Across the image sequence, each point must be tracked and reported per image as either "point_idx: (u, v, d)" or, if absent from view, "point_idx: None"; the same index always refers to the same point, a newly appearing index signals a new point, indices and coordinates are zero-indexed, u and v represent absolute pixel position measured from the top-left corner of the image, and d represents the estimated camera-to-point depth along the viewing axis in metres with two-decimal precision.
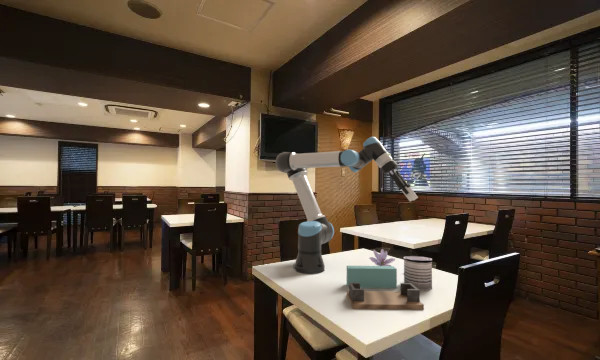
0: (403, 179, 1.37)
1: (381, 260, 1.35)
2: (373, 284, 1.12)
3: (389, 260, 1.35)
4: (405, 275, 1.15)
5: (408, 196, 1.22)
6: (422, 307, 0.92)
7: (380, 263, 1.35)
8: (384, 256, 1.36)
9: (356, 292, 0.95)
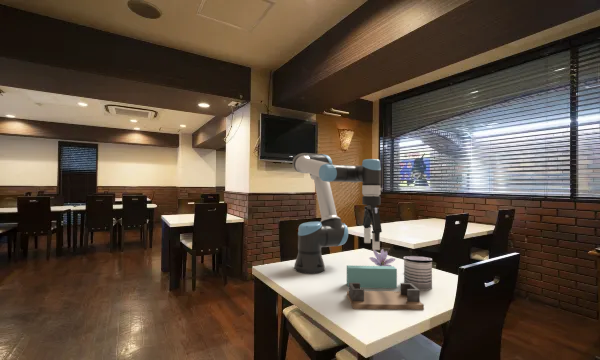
0: None
1: (381, 260, 1.36)
2: (373, 284, 1.12)
3: (389, 260, 1.35)
4: (405, 275, 1.15)
5: (375, 244, 1.08)
6: (422, 307, 0.92)
7: (380, 263, 1.35)
8: (384, 256, 1.36)
9: (356, 292, 0.95)
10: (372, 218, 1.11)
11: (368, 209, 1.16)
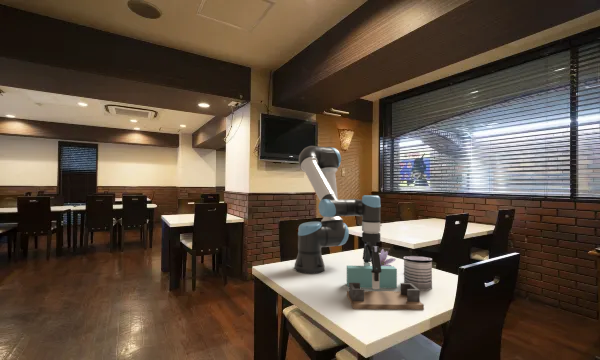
0: None
1: (381, 260, 1.36)
2: None
3: (389, 260, 1.35)
4: (405, 275, 1.15)
5: (374, 283, 1.07)
6: (422, 307, 0.92)
7: (380, 263, 1.35)
8: (384, 256, 1.36)
9: (356, 292, 0.95)
10: (372, 256, 1.10)
11: (368, 245, 1.15)
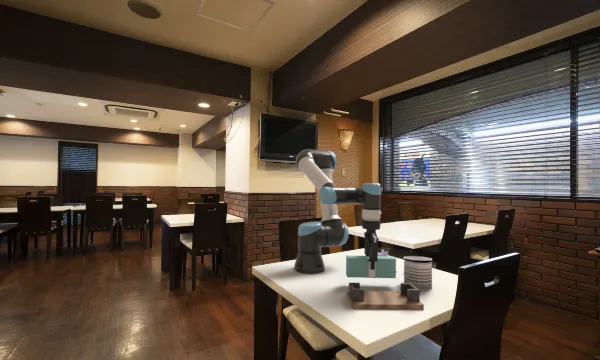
0: None
1: None
2: None
3: None
4: (405, 275, 1.15)
5: (370, 271, 1.12)
6: (422, 307, 0.92)
7: None
8: None
9: (356, 292, 0.95)
10: (370, 245, 1.12)
11: (367, 230, 1.16)
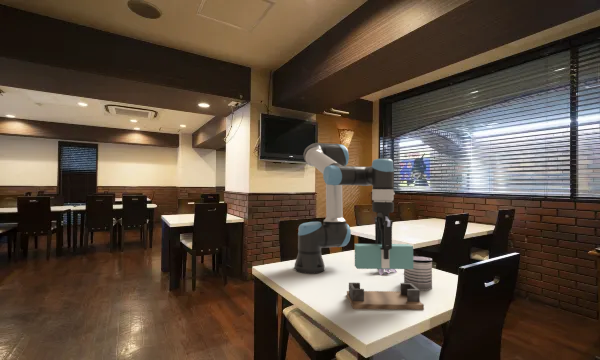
0: None
1: None
2: None
3: None
4: (405, 275, 1.15)
5: (384, 261, 0.96)
6: (422, 307, 0.92)
7: None
8: None
9: (356, 292, 0.95)
10: (383, 230, 0.96)
11: (379, 214, 1.00)
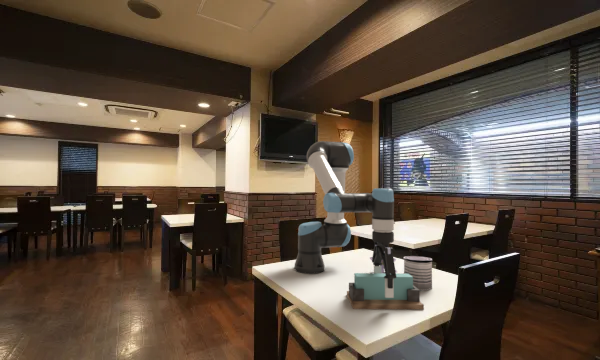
0: None
1: (382, 260, 1.36)
2: None
3: None
4: None
5: (388, 290, 0.91)
6: (422, 307, 0.92)
7: None
8: None
9: (356, 292, 0.95)
10: (384, 259, 0.94)
11: (379, 246, 0.99)
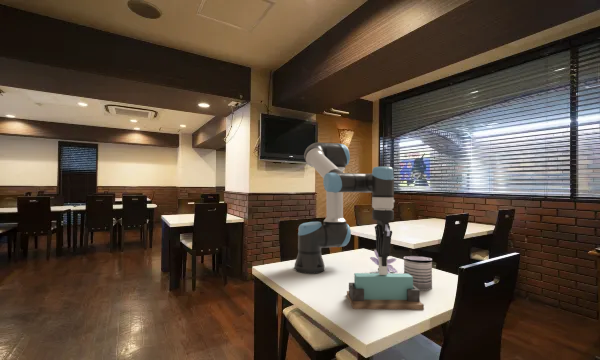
0: None
1: None
2: (386, 295, 0.96)
3: (390, 260, 1.35)
4: None
5: (382, 268, 0.98)
6: (422, 307, 0.92)
7: None
8: None
9: (356, 292, 0.95)
10: (382, 239, 0.97)
11: (379, 220, 1.00)
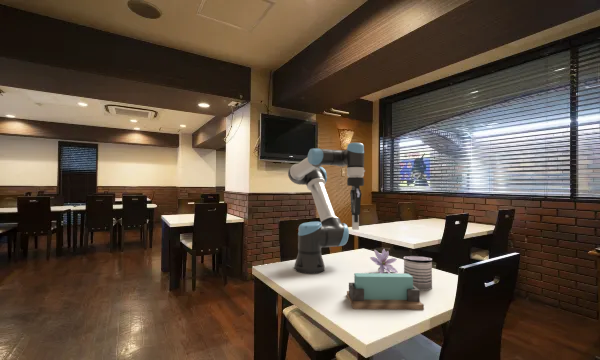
0: None
1: (382, 260, 1.36)
2: (386, 295, 0.96)
3: (390, 260, 1.35)
4: None
5: (354, 224, 1.22)
6: (422, 307, 0.92)
7: (381, 263, 1.35)
8: (385, 256, 1.36)
9: (356, 292, 0.95)
10: (354, 200, 1.21)
11: (352, 186, 1.25)
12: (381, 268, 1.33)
